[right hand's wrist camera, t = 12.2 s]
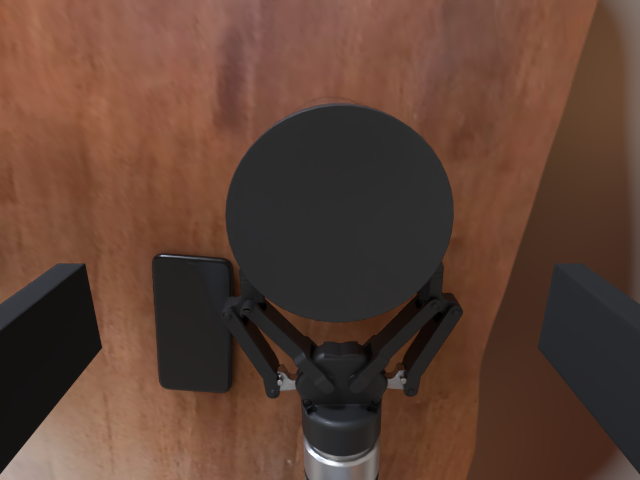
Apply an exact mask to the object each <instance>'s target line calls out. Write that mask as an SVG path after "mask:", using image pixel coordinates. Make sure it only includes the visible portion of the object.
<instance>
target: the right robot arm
mask: <svg viewBox="0 0 640 480" xmlns="http://www.w3.org/2000/svg"><path fill="white" fill-rule="evenodd" d="M101 349H102V345H101V340H100V335H99V330H98V325H97V320H96V315H95V310H94V305H93V300H92V295H91V290H90V286H89V281H88V276H87V271H86V266H85V264H57V265H55V266H54V267H52V268H51V269H49V270H48V271H47V272H45V273H44V274H42V275H41V276H40V277H38V278H37V279H35V280H34V281H33V282H31V283H30V284H28V285H27V286H26V287H24V288H23V289H21V290H20V291H19V292H17V293H16V294H14V295H13V296H11V297H10V298H9V299H7V300H6V301H4V302H3V303H2V304H0V474H1V473H2V471H3V470H4V469H5V468H6V466H7V465H8V464H9V463H10V461H11V460H12V459H13V458H14V457H15V455H16V454H17V453H18V452H19V450H20V449H21V448H22V447H23V445H24V444H25V443H26V442H27V440H28V439H29V438H30V437H31V435H32V434H33V433H34V432H35V430H36V429H37V428H38V427H39V426H40V424H41V423H42V422H43V421H44V419H45V418H46V417H47V416H48V414H49V413H50V412H51V411H52V409H53V408H54V407H55V406H56V404H57V403H58V402H59V401H60V399H61V398H62V397H63V396H64V394H65V393H66V392H67V391H68V390H69V388H70V387H71V386H72V385H73V383H74V382H75V381H76V380H77V378H78V377H79V376H80V375H81V373H82V372H83V371H84V370H85V368H86V367H87V366H88V365H89V363H90V362H91V361H92V360H93V358H94V357H95V356H96V355H97V354H98V352H99V351H100V350H101ZM538 349H539V350H540V351H541V352H542V353H543V355H544V356H545V357H546V358H547V360H548V361H549V362H550V363H551V365H552V366H553V367H554V368H555V370H556V371H557V372H558V373H559V375H560V376H561V377H562V378H563V380H564V381H565V382H566V383H567V385H568V386H569V387H570V388H571V389H572V391H573V392H574V393H575V394H576V396H577V397H578V398H579V399H580V401H581V402H582V403H583V404H584V406H585V407H586V408H587V409H588V411H589V412H590V413H591V414H592V416H593V417H594V418H595V419H596V420H597V422H598V423H599V424H600V426H601V427H602V428H603V429H604V430H605V432H606V433H607V434H608V435H609V437H610V438H611V439H612V440H613V442H614V443H615V444H616V445H617V447H618V448H619V449H620V450H621V452H622V453H623V454H624V455H625V457H626V458H627V459H628V460H629V461H630V463H631V464H632V465H633V466H634V468H635V469H636V470H637V471H638V473H639V474H640V304H638V303H637V302H635V301H634V300H633V299H631V298H630V297H629V296H627V295H626V294H624V293H623V292H621V291H620V290H619V289H617V288H616V287H614V286H613V285H612V284H610V283H609V282H607V281H606V280H605V279H603V278H602V277H600V276H599V275H598V274H596V273H595V272H593V271H592V270H591V269H589V268H588V267H586V266H585V265H583V264H555V266H554V271H553V276H552V281H551V286H550V291H549V295H548V300H547V305H546V310H545V315H544V320H543V325H542V330H541V335H540V340H539V345H538Z"/></svg>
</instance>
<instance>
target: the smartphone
mask: <svg viewBox="0 0 640 480" xmlns="http://www.w3.org/2000/svg"><path fill="white" fill-rule="evenodd" d="M152 272H153V275H152V276H153V293H154V305H155V322H156V339H157V355H158V372H159V382H160V384H161V386H162V387H164V388H166V389H171V390H185V391H200V392H215V393H225V392H227V391H229V390H230V388H231V385H232V333H231V332H230V330H229V329H228V327H227V326H226V324H225V323H224V322H223V320H222V318H221V313H222V311H223V308H224V306H225V303H226V301H227V299H228V298H229V297H232V296H233V265H232V263H231V262H230V261H229V260H227V259H225V258H217V257H205V256H192V255H179V254H164V253H163V254H158V255H156V256H155V257H154V259H153V261H152Z"/></svg>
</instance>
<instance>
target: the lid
mask: <svg viewBox="0 0 640 480" xmlns="http://www.w3.org/2000/svg"><path fill="white" fill-rule="evenodd" d="M452 225H453V199H452V192H451V187H450V184H449V181H448V178H447V174H446V172H445V170H444V168H443V166H442V164H441V162H440V160H439V158H438V157H437V155H436V154H435V152H434V151H433V149H432V148H431V147H430V146H429V145H428V143H427V142H426V141H425V140H424V139H423V138H422V137H421V136H420V135H419V134H418V133H416V132H415V131H414V130H413V129H412V128H411V127H409V126H408V125H406V124H404V123H403V122H401V121H400V120H398V119H396V118H395V117H393V116H391V115H389V114H387V113H384V112H382V111H380V110H378V109H374V108H371V107H368V106H364V105H358V104H351V103H329V104H321V105H316V106H312V107H308V108H305V109H302V110H300V111H297V112H295V113H293V114H290V115H288V116H287V117H285V118H283V119H282V120H280V121H278V122H277V123H275V124H274V125H273V126H272V127H270V128H269V129H268V130H267V131H265V132H264V133H263V134H262V135H261V136H260V137H259V138H258V140H257V141H256V142H255V143H254V144H253V145H252V146H251V147H250V148H249V150H248V151H247V152H246V154H245V155H244V157H243V158H242V159H241V161H240V163H239V165H238V167H237V169H236V171H235V173H234V175H233V178H232V181H231V184H230V187H229V191H228V196H227V201H226V229H227V234H228V239H229V244H230V246H231V249H232V252H233V255H234V257H235V259H236V261H237V263H238V265H239V267H240V269H241V270H242V272H243V273H244V275H245V276H246V277H247V279H248V280H249V281H250V282H251V284H252V285H253V286H254V287H255V288H256V289H257V290H258V291H259V292H260V293H261V294H262V295H264V296H265V297H266V298H267V299H268V300H270V301H271V302H273V303H274V304H276V305H277V306H279V307H281V308H283V309H285V310H287V311H289V312H291V313H293V314H296V315H299V316H301V317H304V318H309V319H313V320H317V321H325V322H350V321H358V320H363V319H367V318H371V317H374V316H377V315H380V314H383V313H385V312H387V311H389V310H391V309H393V308H396V307H397V306H399V305H400V304H402V303H403V302H405V301H407V300H408V299H409V298H411V297H412V296H413V295H414V294H415V293H417V292H418V291H419V290H420V289H421V288H422V287H423V286H424V285H425V284H426V283H427V281H428V280H429V279H430V278H431V276H432V275H433V274H434V272H435V271H436V269H437V268H438V266H439V264H440V262H441V260H442V259H443V257H444V254H445V252H446V249H447V247H448V244H449V240H450V236H451V232H452Z"/></svg>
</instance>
